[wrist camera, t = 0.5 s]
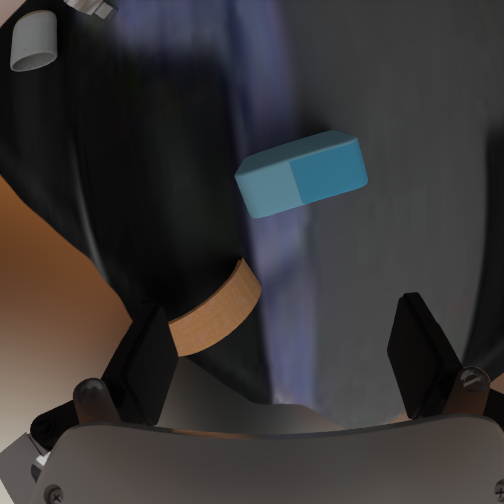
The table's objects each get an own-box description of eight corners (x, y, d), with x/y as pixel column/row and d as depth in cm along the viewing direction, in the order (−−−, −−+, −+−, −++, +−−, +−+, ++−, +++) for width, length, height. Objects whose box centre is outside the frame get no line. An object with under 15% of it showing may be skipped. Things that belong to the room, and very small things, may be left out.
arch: (141, 303, 49) (119, 342, 40) (243, 257, 44) (235, 297, 35) (161, 328, 51) (143, 368, 42) (262, 287, 46) (259, 331, 37)
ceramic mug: (66, 11, 27) (34, 3, 20) (67, 54, 31) (33, 51, 24) (21, 39, 28) (-10, 37, 21) (22, 79, 32) (-10, 82, 25)
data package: (256, 189, 39) (249, 222, 28) (244, 157, 37) (231, 177, 26) (344, 162, 36) (373, 185, 26) (334, 128, 35) (360, 137, 24)
